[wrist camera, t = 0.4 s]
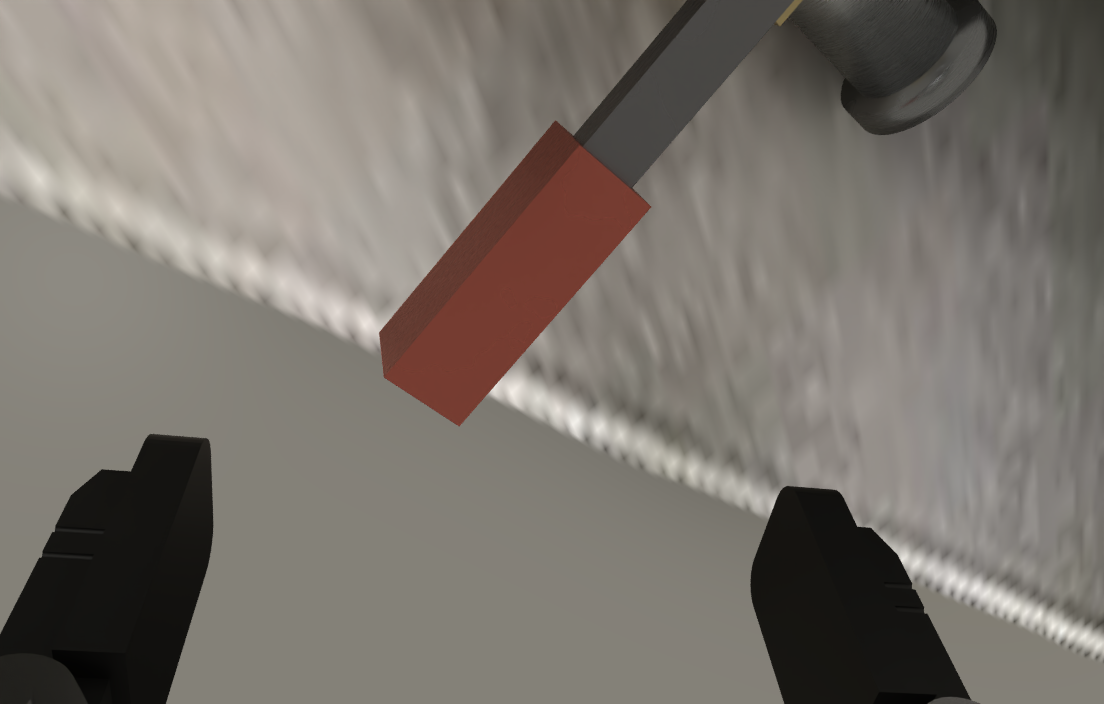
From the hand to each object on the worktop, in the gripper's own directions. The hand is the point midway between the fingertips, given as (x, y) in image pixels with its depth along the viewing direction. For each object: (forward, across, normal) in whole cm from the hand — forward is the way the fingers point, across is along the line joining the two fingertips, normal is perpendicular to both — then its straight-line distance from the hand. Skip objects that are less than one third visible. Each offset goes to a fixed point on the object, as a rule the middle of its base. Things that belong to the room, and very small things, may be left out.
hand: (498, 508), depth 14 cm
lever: (+16, -4, -1) cm, 17 cm away
